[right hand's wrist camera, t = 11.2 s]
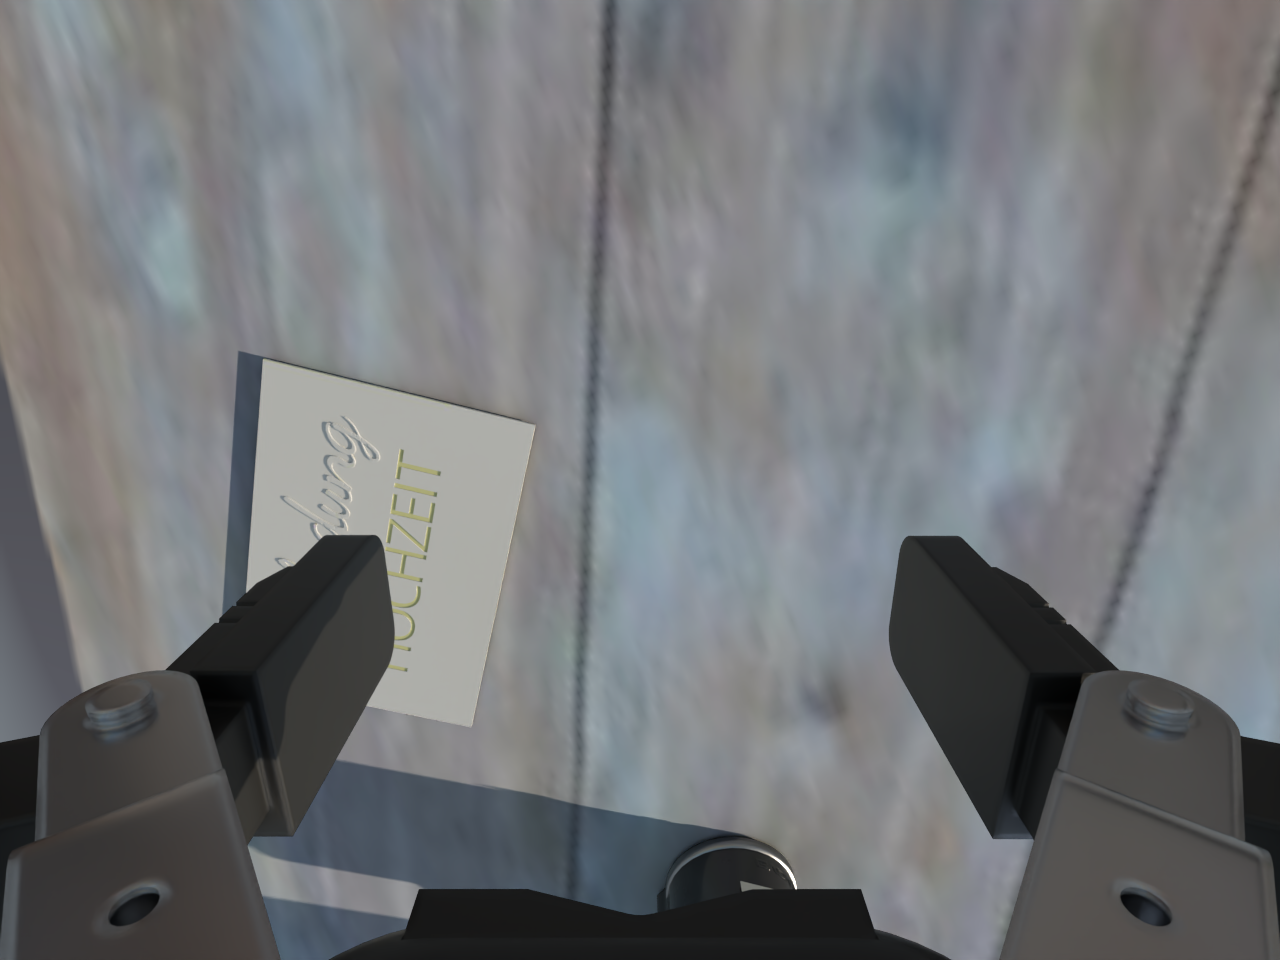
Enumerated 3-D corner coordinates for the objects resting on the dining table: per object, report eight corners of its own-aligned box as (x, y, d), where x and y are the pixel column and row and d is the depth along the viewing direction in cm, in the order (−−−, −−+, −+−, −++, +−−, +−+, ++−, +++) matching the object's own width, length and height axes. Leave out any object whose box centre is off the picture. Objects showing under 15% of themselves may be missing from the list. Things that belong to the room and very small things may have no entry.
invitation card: (470, 728, 47) (238, 680, 46) (471, 725, 47) (241, 678, 46) (535, 425, 40) (262, 359, 38) (535, 424, 40) (264, 358, 39)
